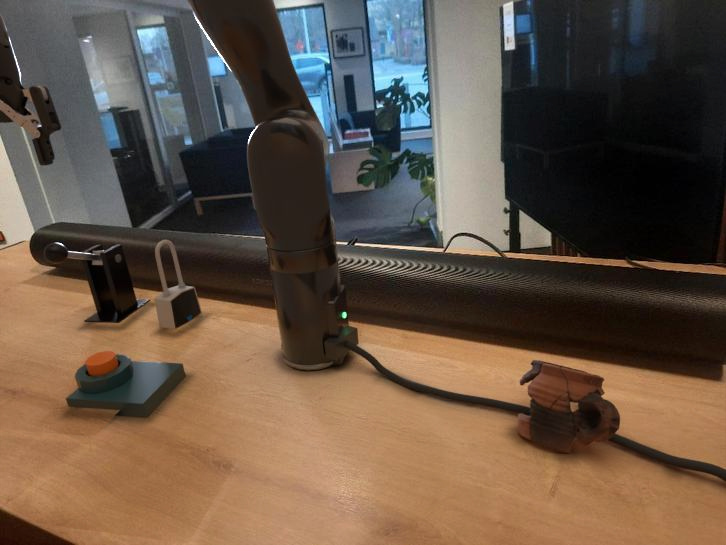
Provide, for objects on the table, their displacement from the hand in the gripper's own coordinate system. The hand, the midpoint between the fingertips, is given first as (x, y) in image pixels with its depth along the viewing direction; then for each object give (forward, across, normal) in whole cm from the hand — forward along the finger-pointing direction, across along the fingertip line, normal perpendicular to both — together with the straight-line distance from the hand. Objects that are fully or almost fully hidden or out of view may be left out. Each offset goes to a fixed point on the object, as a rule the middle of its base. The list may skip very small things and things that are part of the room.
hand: (17, 167), depth 71 cm
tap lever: (+17, +2, +4) cm, 17 cm away
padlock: (+29, +17, +3) cm, 33 cm away
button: (+25, +13, -16) cm, 32 cm away
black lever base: (+28, +3, +9) cm, 30 cm away
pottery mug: (+29, +69, -29) cm, 80 cm away
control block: (+28, +16, -17) cm, 37 cm away
